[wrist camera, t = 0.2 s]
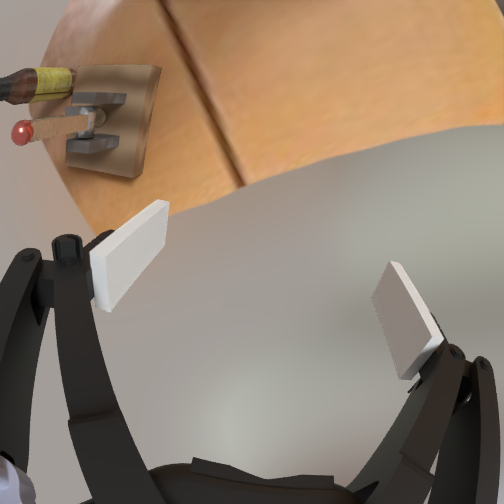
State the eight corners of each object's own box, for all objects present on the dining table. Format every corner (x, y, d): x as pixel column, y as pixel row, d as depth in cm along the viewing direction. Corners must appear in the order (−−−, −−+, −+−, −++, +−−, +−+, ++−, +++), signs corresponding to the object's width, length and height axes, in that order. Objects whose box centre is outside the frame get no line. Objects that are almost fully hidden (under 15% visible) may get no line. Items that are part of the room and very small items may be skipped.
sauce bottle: (69, 62, 34) (-11, 60, 16) (83, 79, 36) (-1, 80, 18) (51, 88, 36) (-27, 96, 19) (64, 106, 38) (-18, 119, 21)
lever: (74, 104, 32) (-9, 115, 17) (107, 105, 32) (22, 113, 17) (71, 131, 34) (-10, 152, 19) (103, 135, 34) (19, 156, 19)
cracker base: (90, 67, 35) (46, 63, 25) (161, 67, 35) (124, 56, 25) (77, 161, 43) (35, 176, 33) (142, 173, 43) (104, 191, 33)
